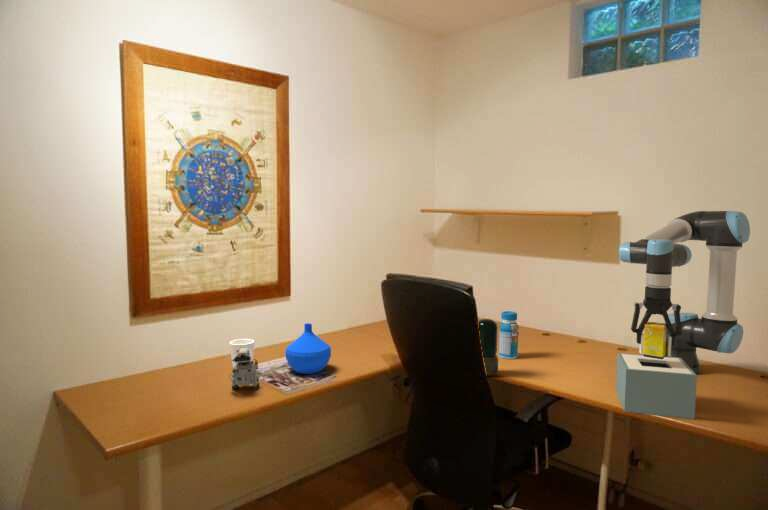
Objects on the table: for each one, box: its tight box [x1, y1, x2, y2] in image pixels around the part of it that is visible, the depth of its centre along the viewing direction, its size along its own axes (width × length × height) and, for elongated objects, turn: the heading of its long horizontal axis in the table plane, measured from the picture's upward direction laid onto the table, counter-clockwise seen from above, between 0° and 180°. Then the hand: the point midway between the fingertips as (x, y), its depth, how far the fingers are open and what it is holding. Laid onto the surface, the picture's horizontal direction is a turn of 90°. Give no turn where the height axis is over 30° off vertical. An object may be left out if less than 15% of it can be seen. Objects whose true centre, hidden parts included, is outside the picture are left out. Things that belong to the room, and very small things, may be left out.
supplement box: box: [642, 321, 668, 359], centre depth 170 cm, size 6×6×11 cm
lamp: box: [477, 318, 499, 377], centre depth 203 cm, size 10×10×22 cm
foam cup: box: [228, 338, 255, 368], centre depth 202 cm, size 10×9×13 cm
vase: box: [284, 322, 332, 375], centre depth 206 cm, size 18×18×19 cm
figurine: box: [229, 348, 261, 391], centre depth 183 cm, size 9×12×15 cm
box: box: [615, 352, 698, 420], centre depth 171 cm, size 20×20×14 cm
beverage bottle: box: [498, 310, 520, 360], centre depth 226 cm, size 8×8×20 cm
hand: (654, 354), depth 170 cm, fingers closed on supplement box, 7 cm apart
